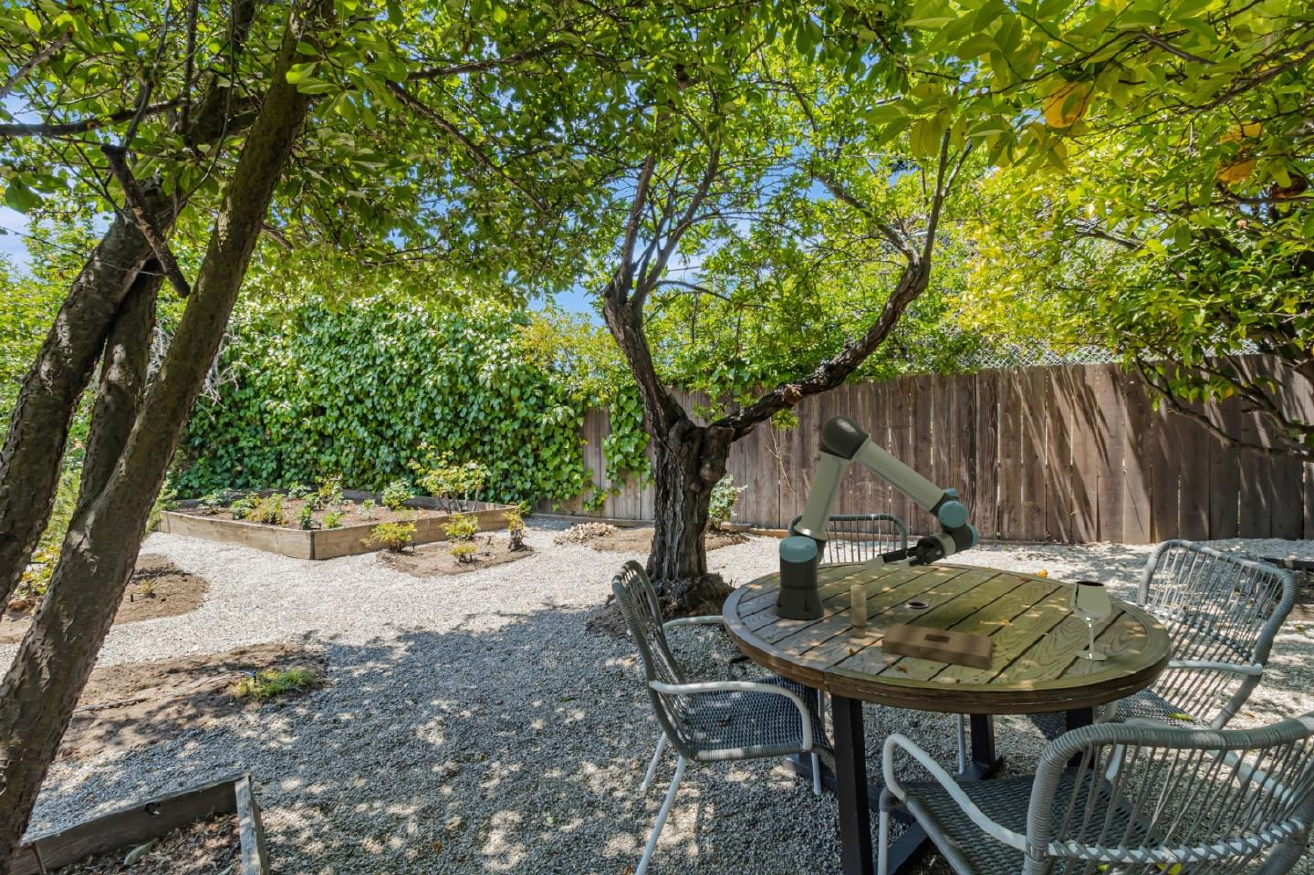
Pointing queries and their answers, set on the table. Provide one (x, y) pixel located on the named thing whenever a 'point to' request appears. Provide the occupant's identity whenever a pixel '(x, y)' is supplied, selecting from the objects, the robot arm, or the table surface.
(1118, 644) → the table surface
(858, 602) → the peg
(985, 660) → the board
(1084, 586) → the wineglass
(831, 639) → the table surface
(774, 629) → the table surface
